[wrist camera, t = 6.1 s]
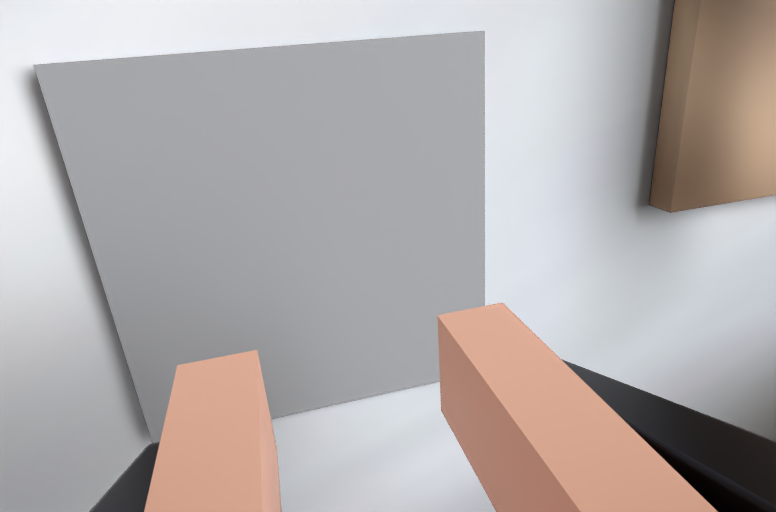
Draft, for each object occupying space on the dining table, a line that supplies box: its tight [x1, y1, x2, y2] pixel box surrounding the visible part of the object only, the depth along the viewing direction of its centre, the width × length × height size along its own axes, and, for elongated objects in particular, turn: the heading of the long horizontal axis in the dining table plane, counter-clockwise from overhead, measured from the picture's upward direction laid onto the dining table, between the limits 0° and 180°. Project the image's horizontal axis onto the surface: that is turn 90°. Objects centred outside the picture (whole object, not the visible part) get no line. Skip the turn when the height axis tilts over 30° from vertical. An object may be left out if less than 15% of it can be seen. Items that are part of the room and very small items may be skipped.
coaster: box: [34, 31, 485, 443], centre depth 15 cm, size 11×11×1 cm
